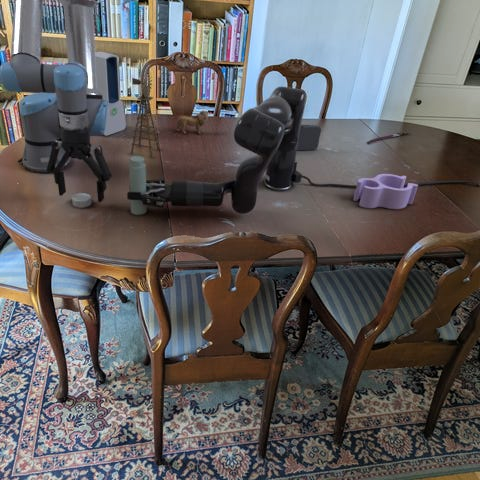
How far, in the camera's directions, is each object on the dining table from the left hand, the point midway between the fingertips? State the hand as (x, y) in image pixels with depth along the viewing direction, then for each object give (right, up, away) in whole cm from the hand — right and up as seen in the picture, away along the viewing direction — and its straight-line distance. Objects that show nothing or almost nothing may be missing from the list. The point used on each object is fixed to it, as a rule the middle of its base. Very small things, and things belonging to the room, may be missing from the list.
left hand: (81, 196), depth 139 cm
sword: (+116, +34, +75) cm, 142 cm away
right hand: (+15, +1, -4) cm, 15 cm away
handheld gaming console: (+68, +24, +52) cm, 89 cm away
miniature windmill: (+11, +20, +37) cm, 44 cm away
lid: (0, 0, 0) cm, 1 cm away
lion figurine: (+27, +33, +59) cm, 73 cm away
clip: (+96, 0, +20) cm, 98 cm away
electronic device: (-6, +32, +51) cm, 61 cm away
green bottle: (+17, -4, 0) cm, 17 cm away
